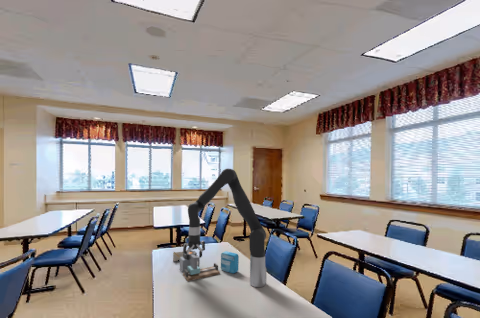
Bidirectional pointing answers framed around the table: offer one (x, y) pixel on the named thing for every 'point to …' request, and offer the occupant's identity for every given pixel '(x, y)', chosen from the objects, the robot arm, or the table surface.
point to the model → (177, 255)
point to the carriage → (193, 266)
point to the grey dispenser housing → (188, 261)
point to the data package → (229, 262)
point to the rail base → (202, 273)
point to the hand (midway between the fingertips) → (194, 258)
